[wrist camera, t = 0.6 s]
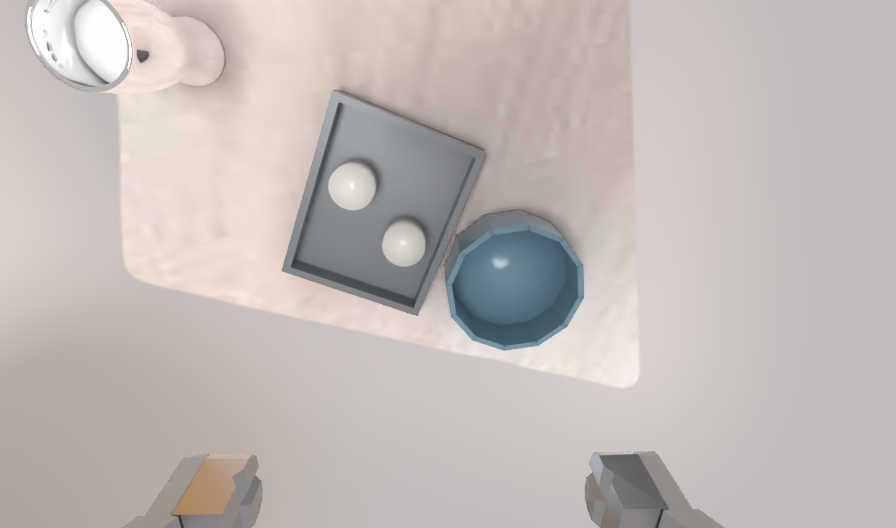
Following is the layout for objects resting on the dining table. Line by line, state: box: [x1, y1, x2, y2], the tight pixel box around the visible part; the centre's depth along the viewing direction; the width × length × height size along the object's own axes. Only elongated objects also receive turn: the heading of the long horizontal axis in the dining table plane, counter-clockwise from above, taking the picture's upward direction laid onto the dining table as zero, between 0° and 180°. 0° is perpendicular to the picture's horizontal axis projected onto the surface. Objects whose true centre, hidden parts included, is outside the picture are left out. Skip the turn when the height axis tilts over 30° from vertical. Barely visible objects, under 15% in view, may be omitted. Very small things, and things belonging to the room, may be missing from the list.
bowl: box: [444, 210, 584, 350], centre depth 50 cm, size 15×15×6 cm
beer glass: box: [25, 0, 225, 94], centre depth 36 cm, size 7×7×15 cm
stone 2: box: [382, 217, 426, 267], centre depth 48 cm, size 5×5×3 cm
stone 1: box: [328, 159, 378, 210], centre depth 46 cm, size 5×5×3 cm
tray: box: [282, 90, 486, 316], centre depth 48 cm, size 20×16×3 cm
